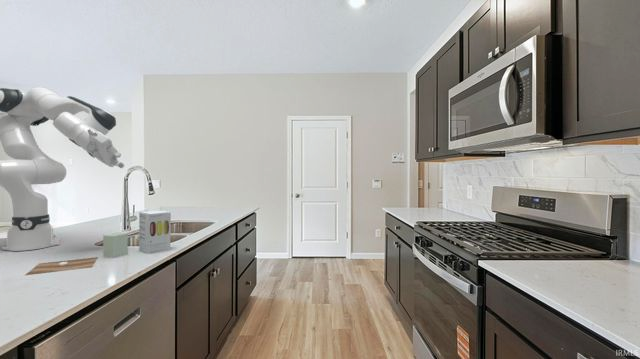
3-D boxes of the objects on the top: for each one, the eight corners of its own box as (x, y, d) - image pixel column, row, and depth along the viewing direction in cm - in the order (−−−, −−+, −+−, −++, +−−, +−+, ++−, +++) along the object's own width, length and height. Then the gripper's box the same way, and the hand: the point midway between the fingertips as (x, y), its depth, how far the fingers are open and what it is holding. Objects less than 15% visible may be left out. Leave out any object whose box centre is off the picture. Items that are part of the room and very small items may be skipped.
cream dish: (60, 265, 104) (59, 262, 104) (68, 264, 105) (68, 261, 105) (58, 266, 102) (58, 263, 102) (66, 265, 104) (66, 263, 103)
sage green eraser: (103, 258, 115) (103, 235, 115) (118, 254, 121) (118, 232, 121) (112, 260, 114) (112, 236, 113) (127, 255, 119) (127, 233, 119)
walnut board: (39, 266, 106) (39, 263, 106) (98, 260, 114) (98, 257, 114) (24, 279, 94) (24, 275, 94) (92, 270, 102) (92, 267, 102)
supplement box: (148, 254, 122) (147, 213, 122) (138, 251, 128) (138, 211, 128) (171, 250, 130) (171, 211, 130) (161, 246, 136) (161, 209, 135)
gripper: (94, 122, 117) (124, 143, 118) (104, 148, 134) (130, 167, 135) (79, 132, 113) (110, 154, 115) (91, 157, 130) (118, 176, 131)
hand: (121, 161), depth 125 cm, fingers open, 8 cm apart
